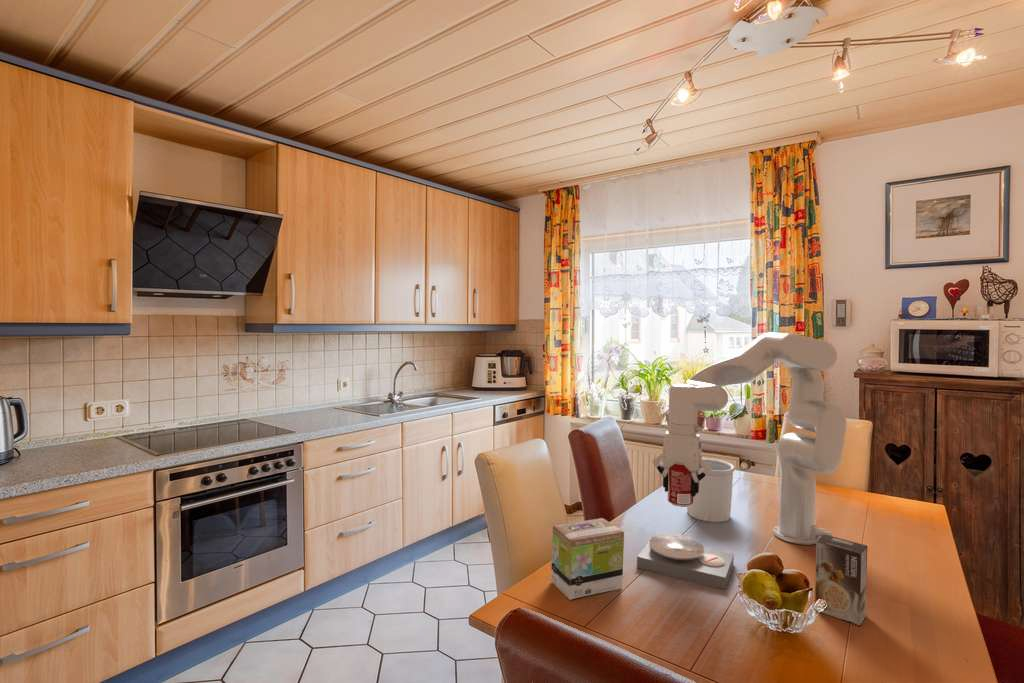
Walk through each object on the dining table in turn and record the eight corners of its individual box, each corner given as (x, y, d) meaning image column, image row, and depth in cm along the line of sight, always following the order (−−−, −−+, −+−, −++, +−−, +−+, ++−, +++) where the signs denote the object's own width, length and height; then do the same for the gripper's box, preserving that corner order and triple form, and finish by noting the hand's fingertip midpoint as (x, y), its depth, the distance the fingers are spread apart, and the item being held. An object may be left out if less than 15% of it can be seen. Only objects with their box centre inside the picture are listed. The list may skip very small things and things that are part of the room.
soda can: (694, 509, 142) (695, 465, 142) (668, 506, 144) (669, 463, 143) (691, 500, 149) (692, 458, 148) (666, 498, 150) (667, 457, 150)
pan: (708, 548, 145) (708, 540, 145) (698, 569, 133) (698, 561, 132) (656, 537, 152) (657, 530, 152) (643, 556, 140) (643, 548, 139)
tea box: (570, 602, 123) (571, 540, 122) (550, 582, 132) (551, 524, 132) (623, 589, 129) (625, 530, 128) (601, 571, 138) (602, 515, 138)
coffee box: (867, 615, 118) (870, 545, 117) (860, 627, 114) (863, 554, 113) (821, 599, 125) (823, 533, 124) (813, 610, 120) (815, 541, 120)
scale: (733, 564, 142) (733, 551, 142) (725, 589, 129) (725, 575, 129) (652, 546, 153) (652, 534, 153) (636, 567, 140) (637, 554, 140)
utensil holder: (741, 517, 176) (743, 465, 175) (714, 527, 168) (716, 472, 167) (703, 504, 188) (705, 455, 187) (676, 512, 180) (677, 461, 179)
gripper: (718, 430, 144) (715, 494, 145) (654, 423, 153) (653, 483, 154) (712, 435, 138) (710, 502, 139) (647, 427, 147) (645, 490, 147)
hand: (680, 492), depth 146 cm, fingers closed on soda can, 6 cm apart
